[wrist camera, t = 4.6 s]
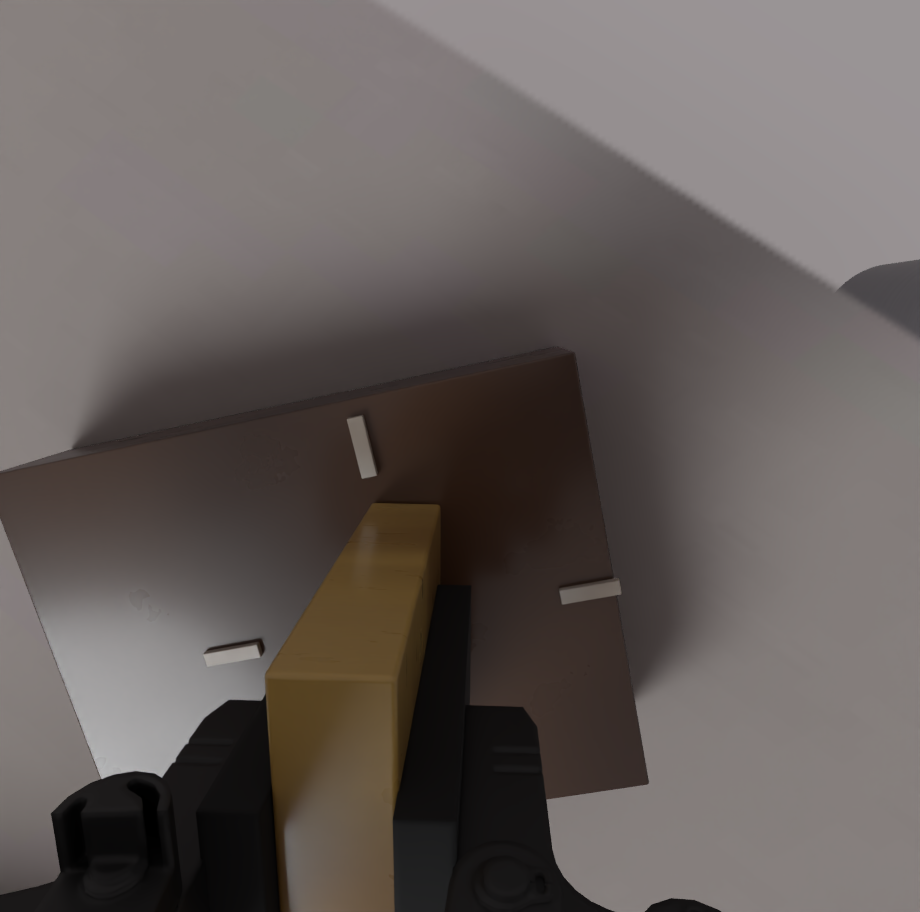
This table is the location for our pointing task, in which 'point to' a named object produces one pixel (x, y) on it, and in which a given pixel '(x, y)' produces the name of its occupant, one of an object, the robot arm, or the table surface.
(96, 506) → the plate
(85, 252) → the table surface
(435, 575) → the gold block
